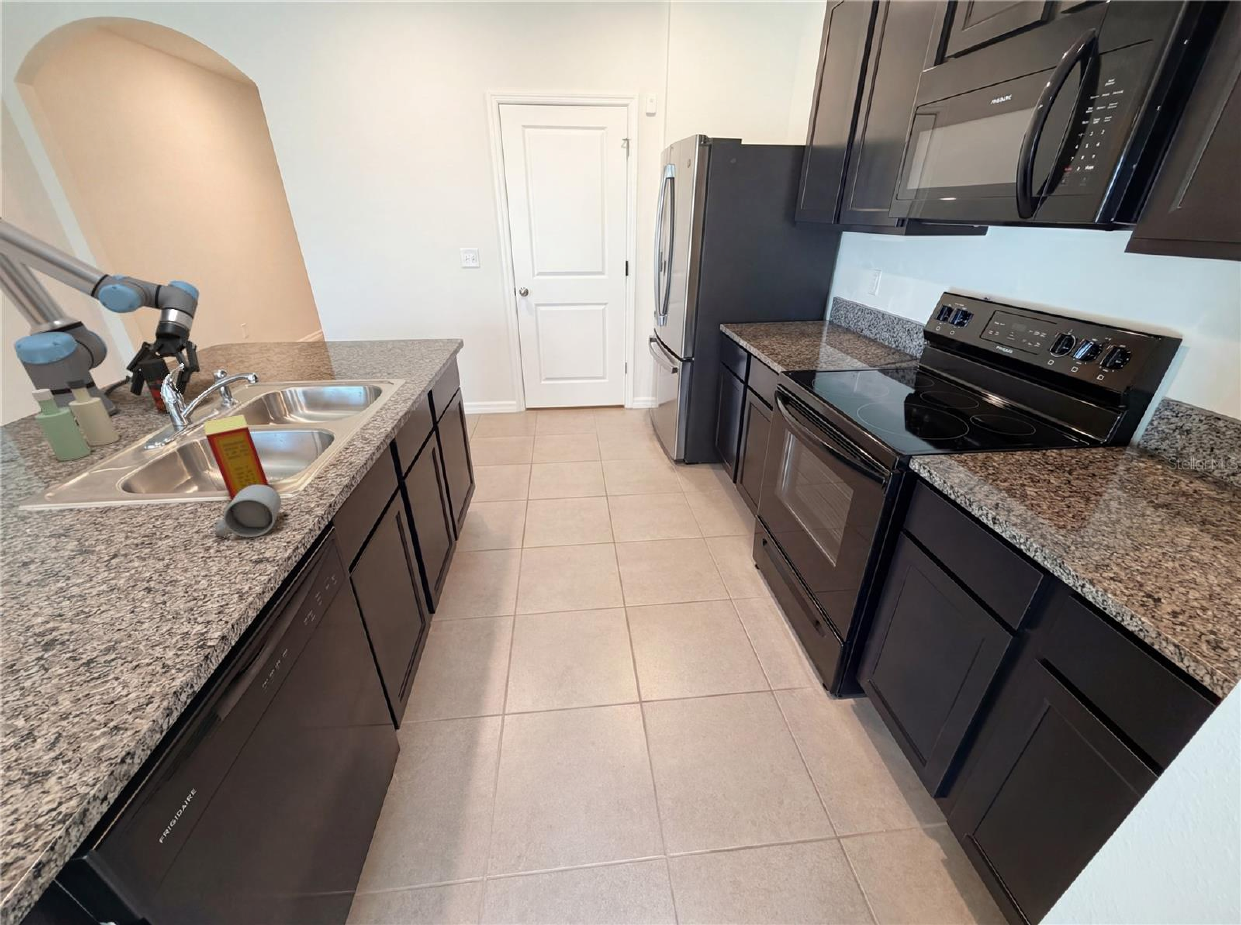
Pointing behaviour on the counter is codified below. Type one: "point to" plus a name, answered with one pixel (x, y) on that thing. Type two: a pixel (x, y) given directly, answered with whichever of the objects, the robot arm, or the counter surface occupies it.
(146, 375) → the deodorant
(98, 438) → the bottle
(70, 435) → the bottle
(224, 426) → the baking soda box
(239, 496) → the ceramic mug
